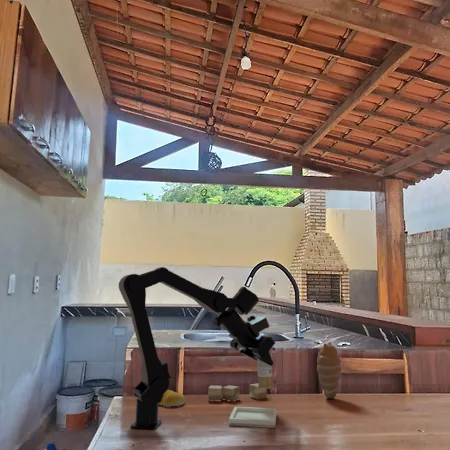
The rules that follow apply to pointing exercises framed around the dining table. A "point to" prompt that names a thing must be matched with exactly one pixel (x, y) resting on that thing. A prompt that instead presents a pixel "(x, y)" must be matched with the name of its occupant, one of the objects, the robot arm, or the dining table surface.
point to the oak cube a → (215, 393)
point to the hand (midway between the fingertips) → (268, 363)
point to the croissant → (329, 370)
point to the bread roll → (172, 399)
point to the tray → (253, 417)
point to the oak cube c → (257, 392)
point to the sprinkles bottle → (264, 374)
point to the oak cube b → (230, 393)
